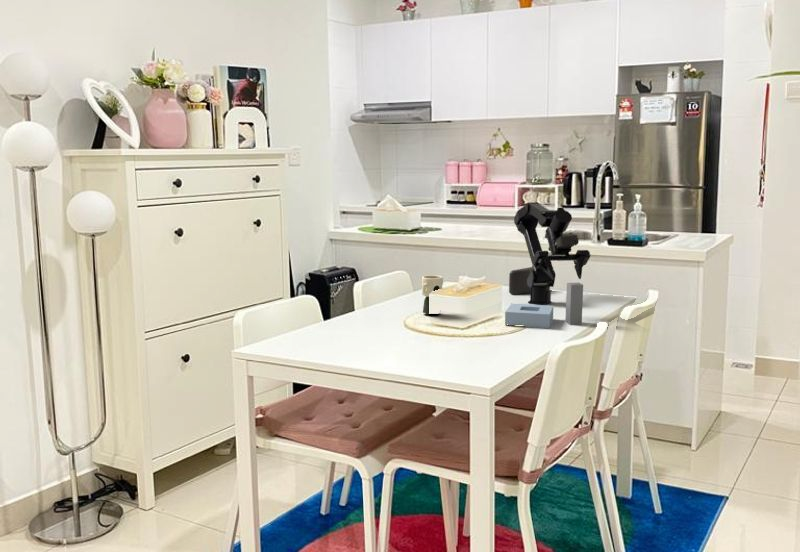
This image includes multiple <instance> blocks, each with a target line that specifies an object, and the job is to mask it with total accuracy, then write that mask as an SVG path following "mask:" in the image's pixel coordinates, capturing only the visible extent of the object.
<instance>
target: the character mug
mask: <svg viewBox="0 0 800 552" xmlns="http://www.w3.org/2000/svg"><path fill="white" fill-rule="evenodd" d="M443 277H444V276H441V275H435V274H434V275H422V277H421V295H422V296H424V297H425V298H424V301H423V306H422V313H423V314H426V315H429V294H430V293H431V292H432V291H435V290H438V289H442V290H443V284H444V278H443Z"/></svg>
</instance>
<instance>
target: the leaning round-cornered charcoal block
mask: <svg viewBox="0 0 800 552" xmlns="http://www.w3.org/2000/svg"><path fill="white" fill-rule="evenodd" d="M531 268H532V266H530V267H525V268H518V269H513V270H510V272H509V277H508V278H509V279H508V293H509V294H510V295H513V296H518V295H528V294H530V291H531V287H529V286H528V285H527V278H528V276H529V274H530V270H531Z"/></svg>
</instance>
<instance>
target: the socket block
mask: <svg viewBox="0 0 800 552" xmlns="http://www.w3.org/2000/svg"><path fill="white" fill-rule="evenodd" d="M554 307H555V306H554V305H548V304H545V305H540V304H532V303H529V304H527V303H514V302H513V303H510V304H509V306H508V307H507V309H506V310H505V312H504V313H505V315H504V326H505V325H507V324H508V325H524V326H525V327H524V328H534V329H535V328H536V329H537V328H539V329H550V328H551V325H552V323H553V320H554Z"/></svg>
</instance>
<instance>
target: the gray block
mask: <svg viewBox="0 0 800 552" xmlns="http://www.w3.org/2000/svg"><path fill="white" fill-rule="evenodd" d="M565 294H566V295H565V320H564V321H565V323H566V324H568V325H571V326H573V325H574V326H575V325H582V322H583V302H584V301H583V299H584V284H583V283H580V282H566V293H565Z"/></svg>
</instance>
